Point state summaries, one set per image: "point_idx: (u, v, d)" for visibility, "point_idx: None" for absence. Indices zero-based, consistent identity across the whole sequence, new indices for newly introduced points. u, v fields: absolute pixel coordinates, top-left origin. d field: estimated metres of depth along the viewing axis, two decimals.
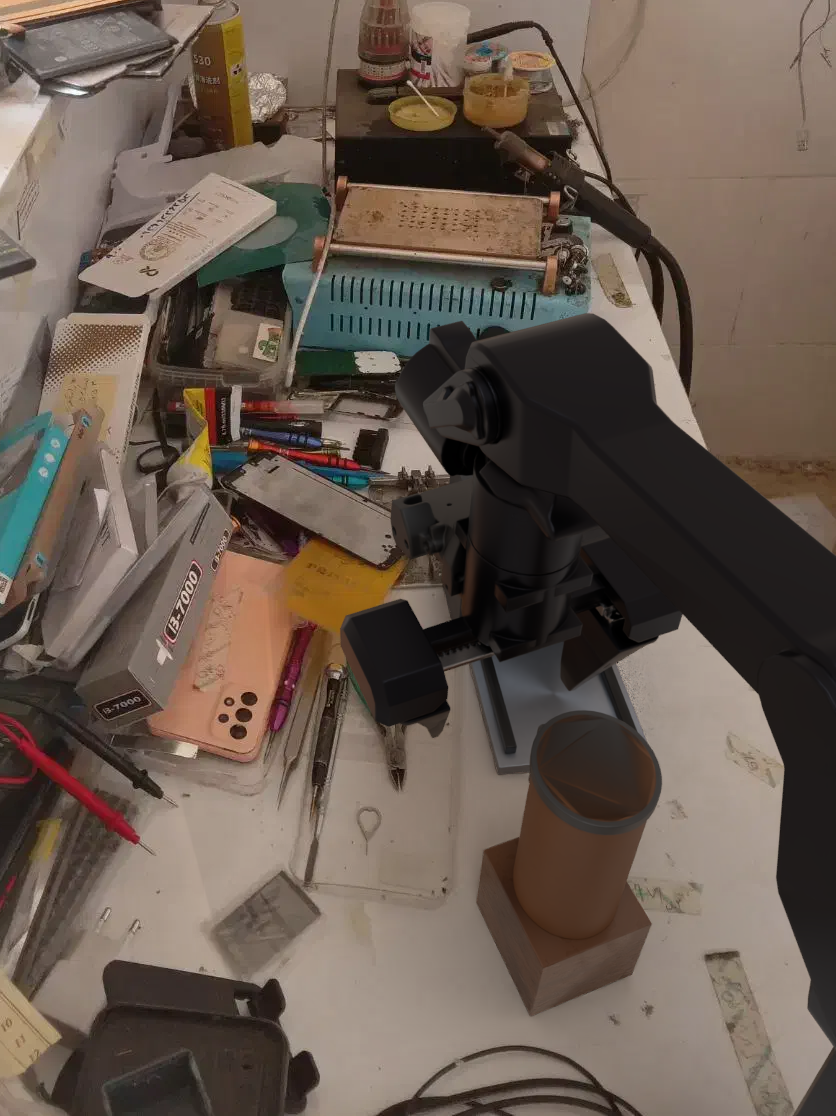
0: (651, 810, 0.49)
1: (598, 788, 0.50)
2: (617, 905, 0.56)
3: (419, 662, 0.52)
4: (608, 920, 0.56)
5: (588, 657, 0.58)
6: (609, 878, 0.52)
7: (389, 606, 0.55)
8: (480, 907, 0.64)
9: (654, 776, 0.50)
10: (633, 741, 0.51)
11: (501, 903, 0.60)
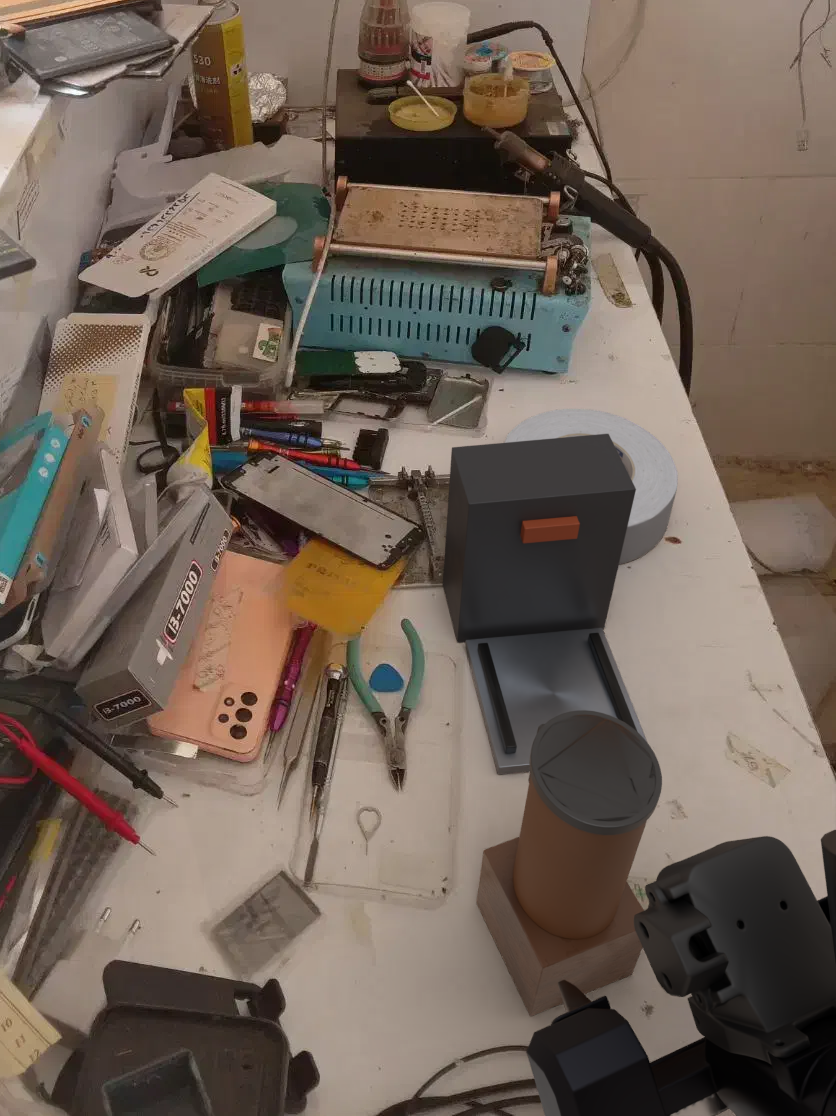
0: (651, 810, 0.49)
1: (598, 788, 0.50)
2: (617, 905, 0.56)
3: None
4: (608, 920, 0.56)
5: None
6: (609, 878, 0.52)
7: (623, 1068, 0.38)
8: (480, 907, 0.64)
9: (654, 776, 0.50)
10: (633, 741, 0.51)
11: (501, 903, 0.60)
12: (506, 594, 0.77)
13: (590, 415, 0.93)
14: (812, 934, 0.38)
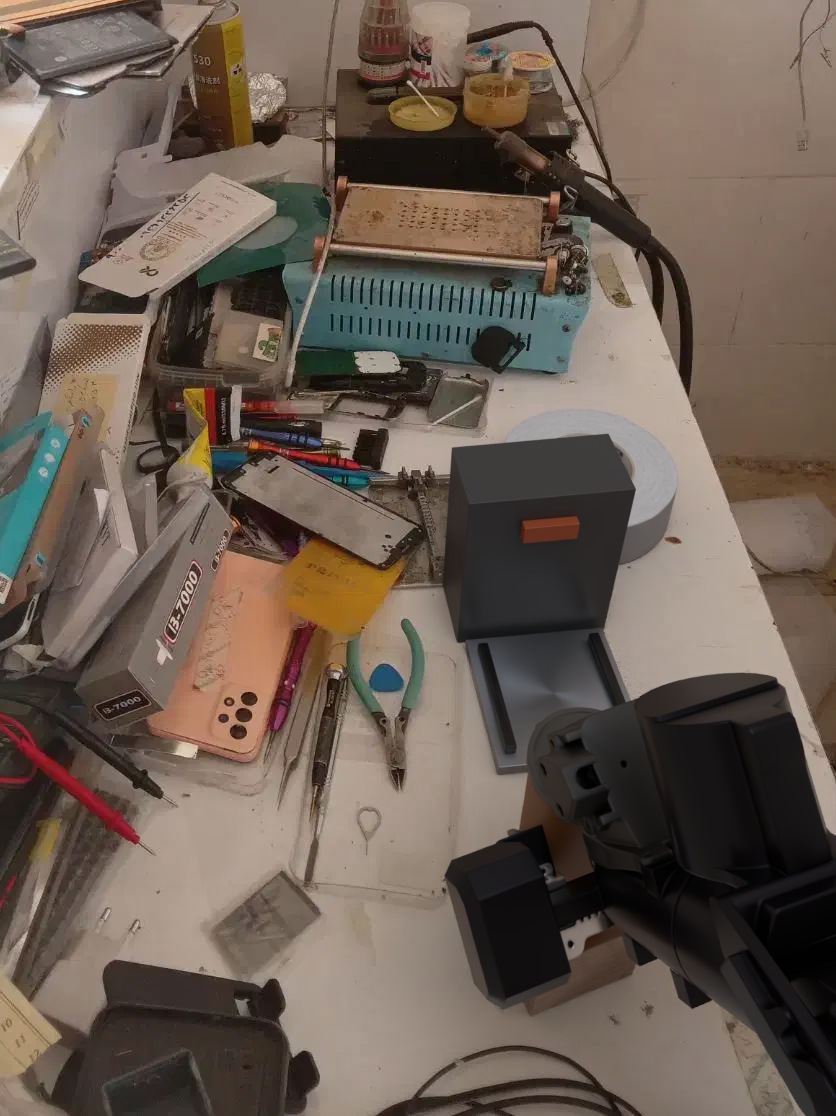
0: None
1: None
2: None
3: (548, 970, 0.45)
4: None
5: None
6: None
7: (522, 883, 0.45)
8: None
9: None
10: None
11: None
12: (506, 594, 0.77)
13: (590, 415, 0.93)
14: None
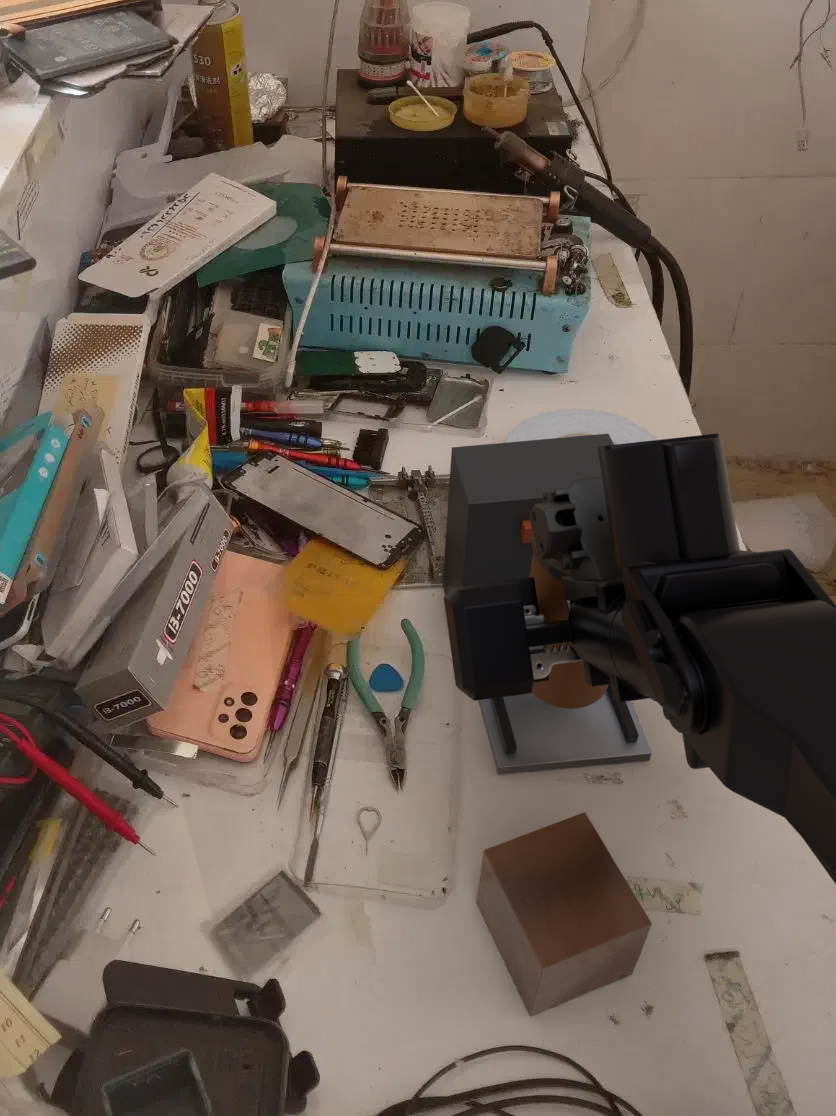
0: None
1: None
2: None
3: (514, 674, 0.55)
4: (592, 696, 0.65)
5: None
6: None
7: (503, 603, 0.56)
8: (480, 907, 0.64)
9: None
10: None
11: (501, 903, 0.60)
12: None
13: (590, 415, 0.93)
14: None
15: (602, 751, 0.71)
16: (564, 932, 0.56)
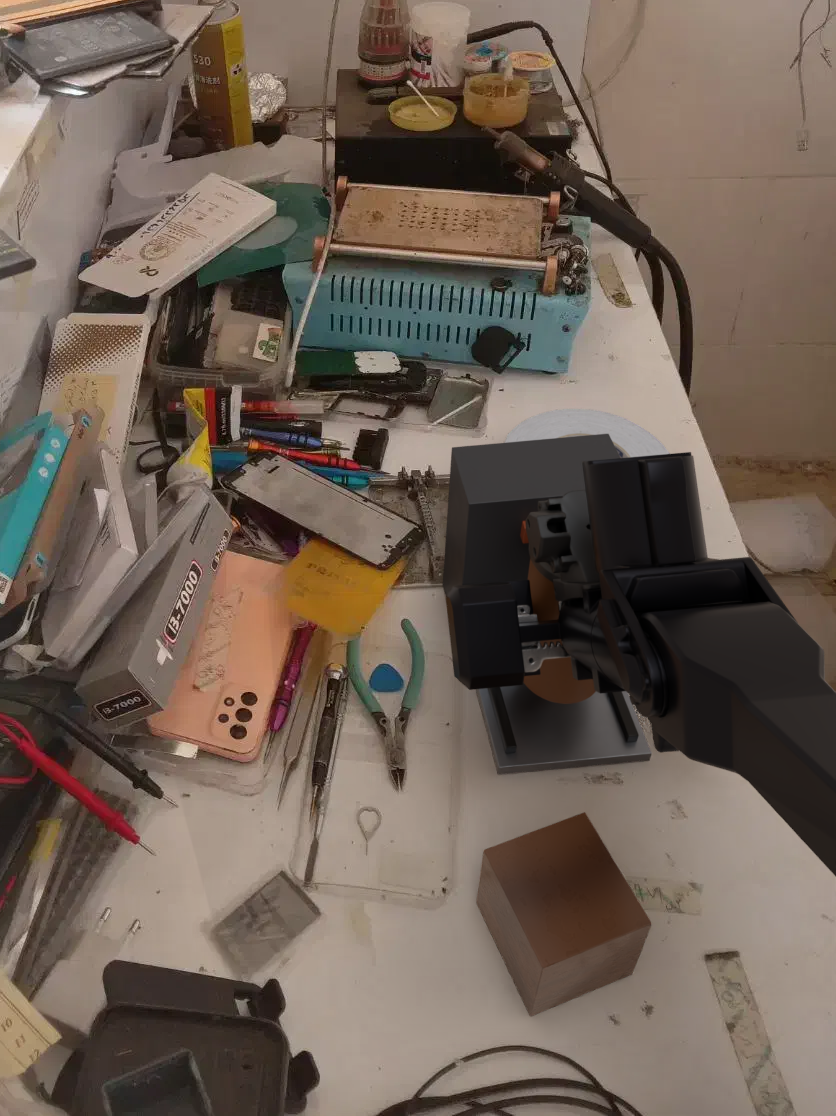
0: None
1: None
2: None
3: (506, 667, 0.61)
4: (584, 692, 0.70)
5: None
6: None
7: (498, 601, 0.61)
8: (480, 907, 0.64)
9: None
10: None
11: (501, 903, 0.60)
12: None
13: (590, 415, 0.93)
14: None
15: (602, 751, 0.71)
16: (564, 932, 0.56)
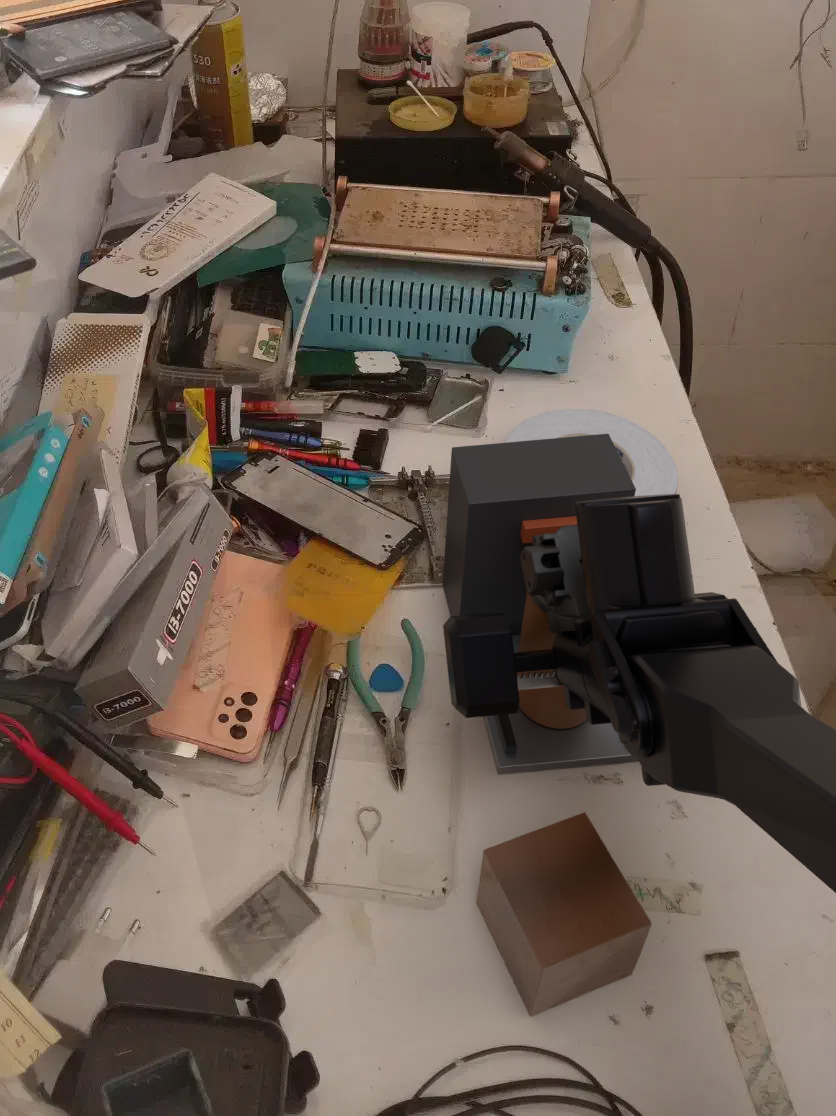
0: None
1: None
2: None
3: (502, 696, 0.63)
4: (578, 718, 0.72)
5: None
6: None
7: (494, 633, 0.63)
8: (480, 907, 0.64)
9: None
10: None
11: (501, 903, 0.60)
12: (506, 594, 0.77)
13: (590, 415, 0.93)
14: None
15: (602, 751, 0.71)
16: (564, 932, 0.56)
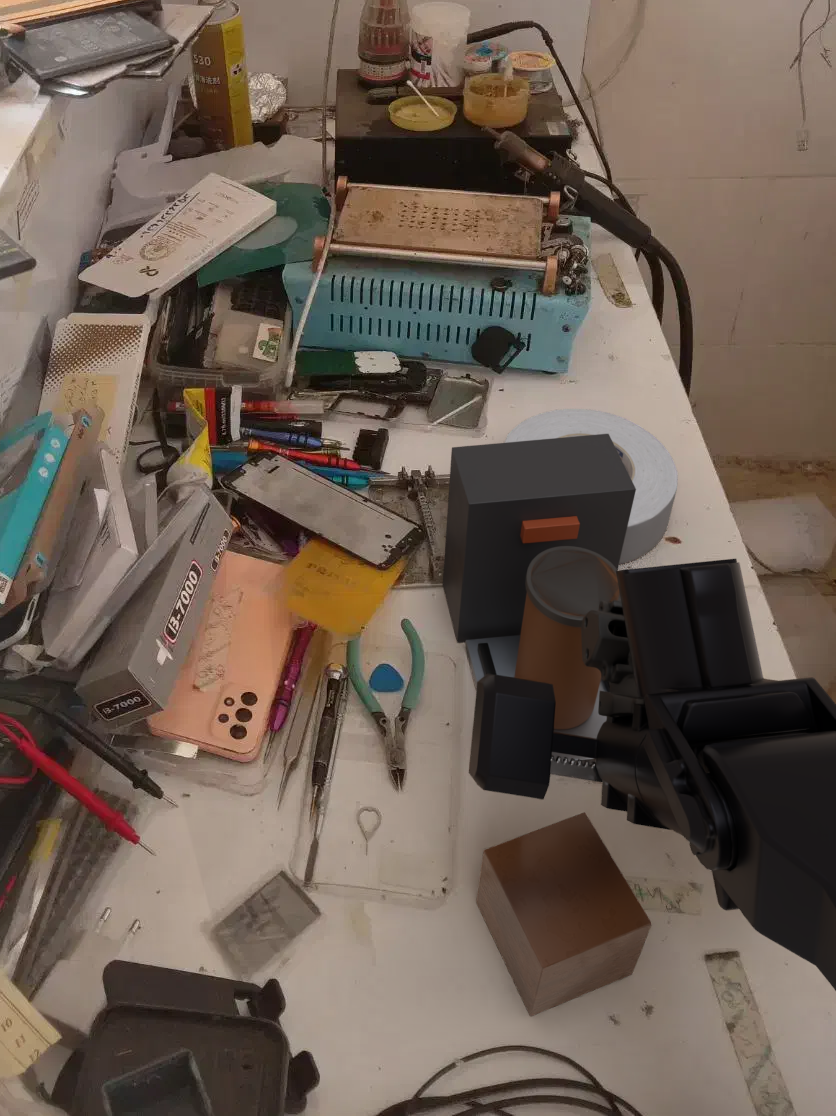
0: None
1: (572, 594, 0.66)
2: (587, 707, 0.72)
3: (530, 773, 0.55)
4: (578, 718, 0.72)
5: None
6: (575, 672, 0.69)
7: (536, 699, 0.56)
8: (480, 907, 0.64)
9: (617, 595, 0.66)
10: (609, 572, 0.68)
11: (501, 903, 0.60)
12: (506, 594, 0.77)
13: (590, 415, 0.93)
14: None
15: None
16: (564, 932, 0.56)
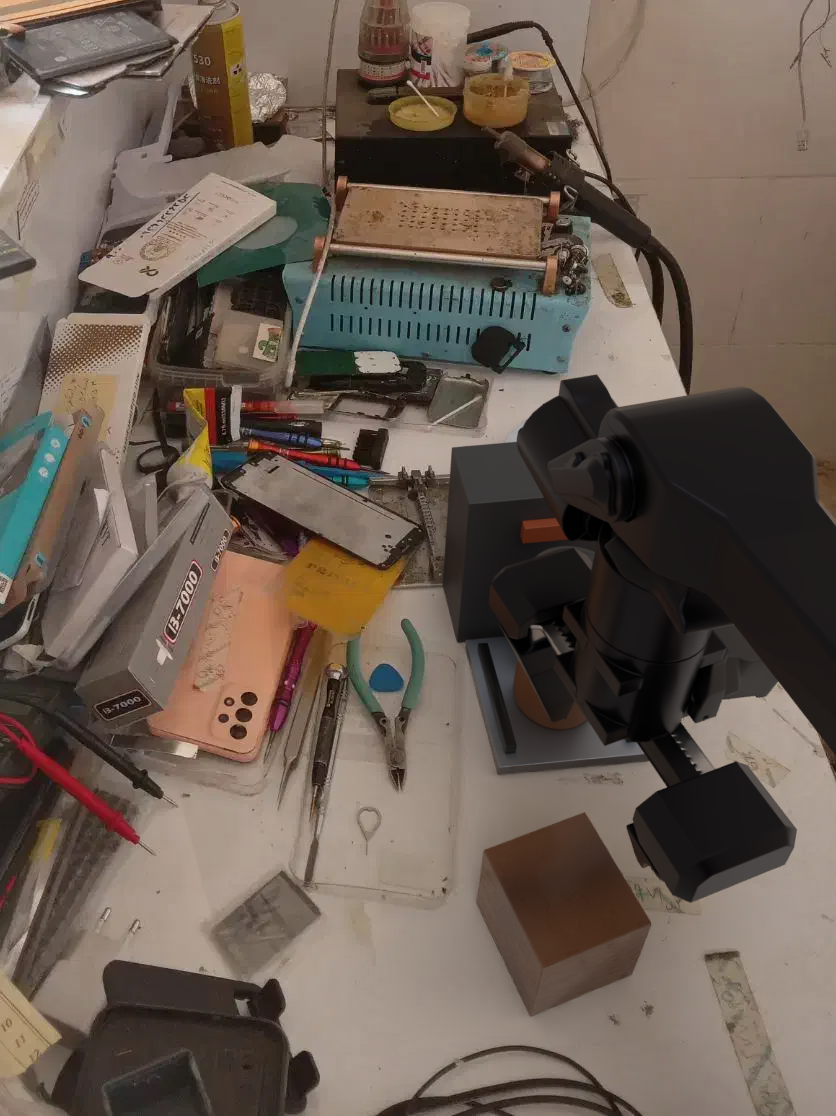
0: None
1: None
2: None
3: (532, 595, 0.55)
4: (578, 718, 0.72)
5: None
6: None
7: None
8: (480, 907, 0.64)
9: None
10: None
11: (501, 903, 0.60)
12: None
13: None
14: (745, 647, 0.49)
15: (602, 751, 0.71)
16: (564, 932, 0.56)
